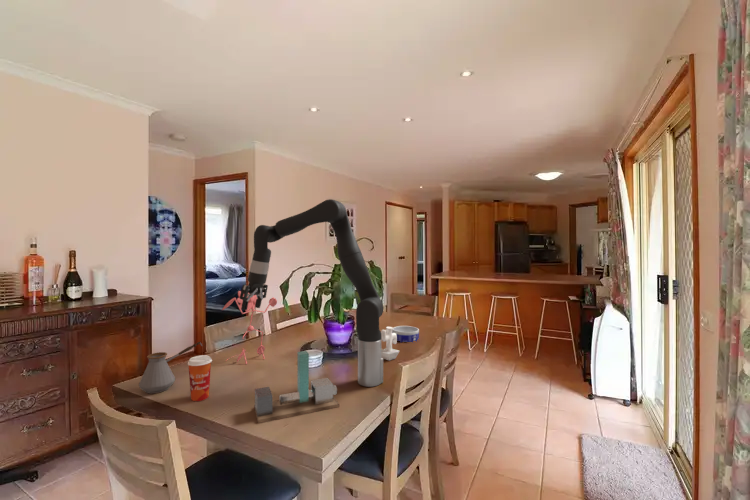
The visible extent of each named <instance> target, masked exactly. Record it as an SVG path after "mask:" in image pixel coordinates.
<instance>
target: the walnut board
mask: <svg viewBox="0 0 750 500" xmlns="http://www.w3.org/2000/svg"><path fill="white" fill-rule="evenodd" d="M253 407H254V408H253V409H254V413H255V416H256V420H257V424H261V423H265V422H267V423H268V422H270V421H276V420H280V419H285V418H286V419H287V418H289V417H296V416H299V415H305V414H310V413H315V412H321V411H324V410H330V409H335V408H340V403H339V402H338V400H337V398H336V397H335V395H333V402H328V403H322V404H317V405H315V398H314V399H309V401H307V402H302V403H299V401H298V402H292V403H287V404H282V405H280V400H279V399H278V400H272V414H270V415H265V416H260V417H257V413H256V409H255V404H254V405H253Z"/></svg>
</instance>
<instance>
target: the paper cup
mask: <svg viewBox="0 0 750 500" xmlns="http://www.w3.org/2000/svg"><path fill="white" fill-rule="evenodd" d="M212 362H213V359H212V357H211V356H209V355H206V354H204V355H202V354H201V355H195V356H193V357H190V358H189V360H188V361H187V366H188V377H189V389H190V390H189V391H190V400H191V402H192V401H193V402H201V401H205V400H207V399H208V398H210V397H209V396H210V385H211V383H210V382H211V367H212Z"/></svg>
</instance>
